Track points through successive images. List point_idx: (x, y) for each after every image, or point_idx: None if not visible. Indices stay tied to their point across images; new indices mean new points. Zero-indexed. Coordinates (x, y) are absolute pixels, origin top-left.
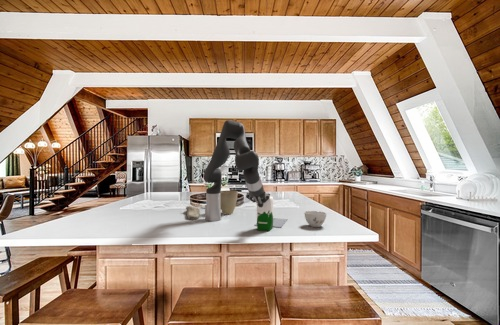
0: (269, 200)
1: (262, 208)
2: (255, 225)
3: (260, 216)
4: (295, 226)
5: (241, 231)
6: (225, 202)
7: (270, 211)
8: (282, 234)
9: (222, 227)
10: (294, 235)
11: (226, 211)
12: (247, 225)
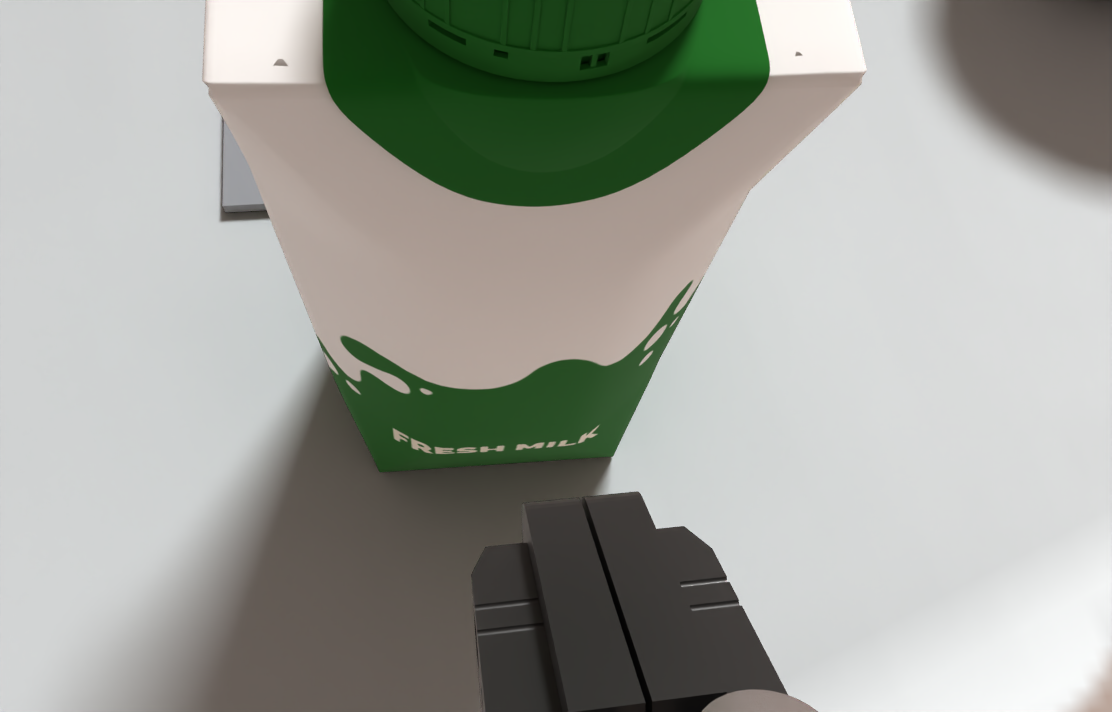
0: (813, 125)
1: (510, 326)
2: (247, 208)
3: (445, 409)
4: (868, 43)
5: (99, 691)
6: None
7: (706, 270)
8: (892, 562)
9: None
10: (1083, 539)
11: None
12: (90, 233)
